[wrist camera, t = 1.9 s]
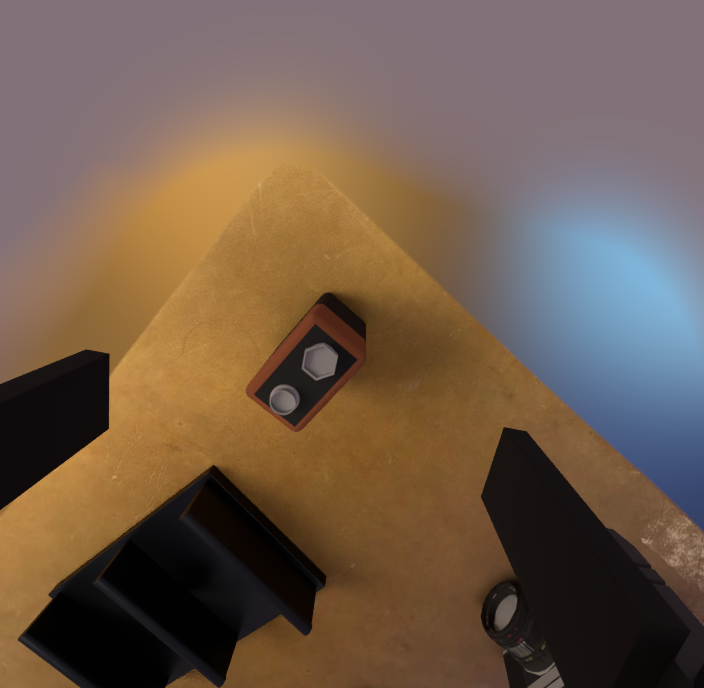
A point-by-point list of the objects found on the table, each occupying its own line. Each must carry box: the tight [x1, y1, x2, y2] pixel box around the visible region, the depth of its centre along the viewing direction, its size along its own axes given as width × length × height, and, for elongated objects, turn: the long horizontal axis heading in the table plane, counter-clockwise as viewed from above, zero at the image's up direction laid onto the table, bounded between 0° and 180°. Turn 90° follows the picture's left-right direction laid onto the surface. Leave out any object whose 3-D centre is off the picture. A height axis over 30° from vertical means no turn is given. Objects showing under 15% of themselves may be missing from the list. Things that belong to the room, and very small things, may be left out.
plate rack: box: [18, 465, 326, 688], centre depth 36 cm, size 16×23×6 cm
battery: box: [246, 292, 366, 432], centre depth 26 cm, size 4×7×10 cm, turn 139°
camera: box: [481, 582, 565, 688], centre depth 33 cm, size 15×11×10 cm
